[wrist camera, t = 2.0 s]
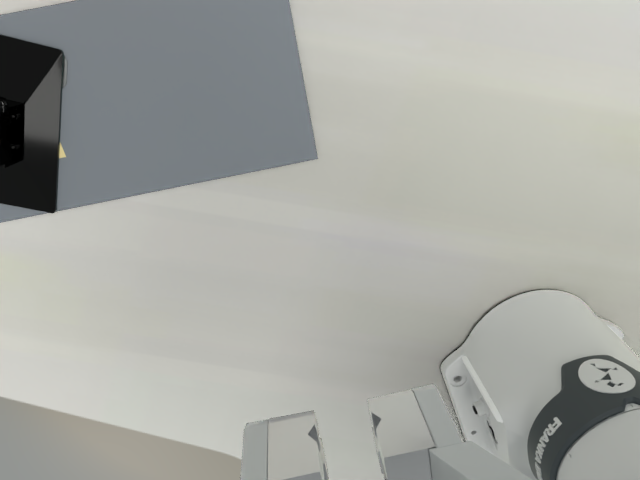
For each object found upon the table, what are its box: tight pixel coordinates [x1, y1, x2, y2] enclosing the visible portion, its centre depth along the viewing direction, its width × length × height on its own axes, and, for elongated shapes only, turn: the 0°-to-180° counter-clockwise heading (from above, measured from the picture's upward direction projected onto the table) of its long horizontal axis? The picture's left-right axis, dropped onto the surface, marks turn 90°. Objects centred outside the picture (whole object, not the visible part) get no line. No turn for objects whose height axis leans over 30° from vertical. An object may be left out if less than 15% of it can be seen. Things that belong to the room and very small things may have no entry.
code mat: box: [0, 0, 318, 223], centre depth 34 cm, size 14×29×1 cm, turn 100°
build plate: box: [0, 34, 68, 213], centre depth 32 cm, size 12×7×5 cm, turn 165°
